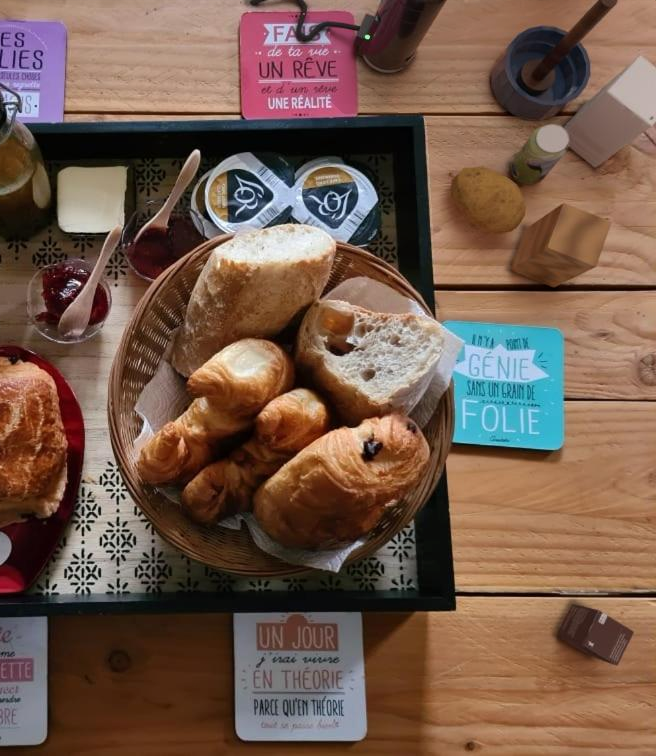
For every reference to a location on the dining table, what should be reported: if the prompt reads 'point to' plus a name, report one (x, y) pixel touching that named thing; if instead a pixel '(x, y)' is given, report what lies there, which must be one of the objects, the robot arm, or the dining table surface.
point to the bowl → (568, 72)
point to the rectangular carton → (615, 114)
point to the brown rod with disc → (559, 52)
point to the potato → (488, 199)
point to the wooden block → (561, 245)
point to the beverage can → (540, 154)
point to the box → (595, 634)
